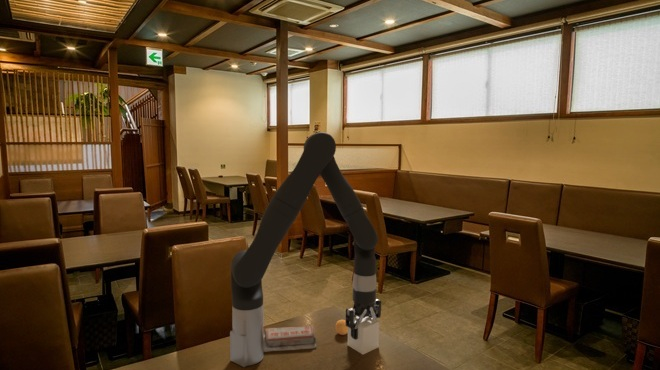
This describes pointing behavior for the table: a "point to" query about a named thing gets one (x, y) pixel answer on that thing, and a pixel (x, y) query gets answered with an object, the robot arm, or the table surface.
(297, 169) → the robot arm
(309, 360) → the table surface
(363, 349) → the white foam cube
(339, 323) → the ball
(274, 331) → the packaged product
